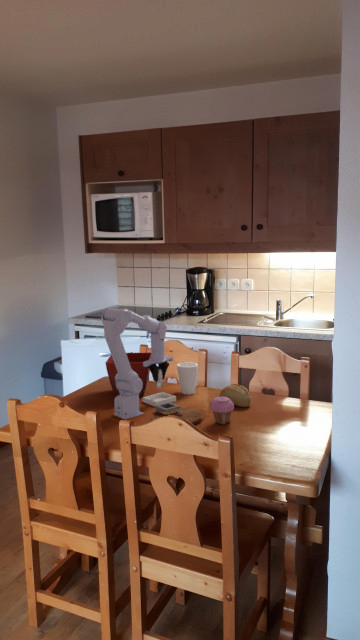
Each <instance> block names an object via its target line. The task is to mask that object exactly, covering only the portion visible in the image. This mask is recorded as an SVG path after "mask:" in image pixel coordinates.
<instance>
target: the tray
mask: <svg viewBox="0 0 360 640" xmlns="http://www.w3.org/2000/svg"><path fill="white" fill-rule="evenodd" d="M142 402H143V403H145V404H147V405H150V406H152V407H155V406H157V405H160V404H164V403H167V402H170V403H174V402H177V396H176V395H173V394H169V393H167V392H164V391H163V392H158V393H154V394H151V395H148V396H142Z"/></svg>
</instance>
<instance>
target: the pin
mask: <svg viewBox="0 0 360 640" xmlns="http://www.w3.org/2000/svg"><path fill="white" fill-rule="evenodd" d="M163 382H164V380H163V373H162V368H159V370H158V381H155V388H157V389H162V388H164V383H163Z"/></svg>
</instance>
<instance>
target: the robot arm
mask: <svg viewBox="0 0 360 640" xmlns="http://www.w3.org/2000/svg"><path fill="white" fill-rule="evenodd" d="M157 319H158V318H154V317H151V315H149V314H145V315H139V314H137V313H136V312H135V311H134V312H133V311H132V310H131V309H130V310H129V309H127V308H112V307H106V308H105V309H104V310H103V312H102V315H101V317H100V321H101V322H102V325H103V333H104V339H105V341H106V344H107V347H108V349H109V353H110V355H112V358H113V361H114V363H115V366H116V369H117V372H118V373H117V374H116V376H115V380H116V388H117V389H118V390H119V393H121V394H120V395H118V396H115V398H114V400H113V401H114V402H113V403H114V413H113V415H114V416H116V417H118V418H120V419H123V420H128V419H130V418H134V417H138V416H140V415H144V412H142V411H140V397H139V393H140V391H141V390H142V386H143V383H142V380H141V379H140V378H139V376H138V374H137V373H136V372H134V371H133V370H132V369H131V366H130V363H129V360H128V357H127V355H126V353H127V351H126V350H125V346H124V342H123V341H122V338H121V335H122V334H123V333H124V331H125V330H126V328H127V327H128V325H129V323H133V324H137V325H138V327H139V328H140V329H141V330H144V331H146V332H147V333H148V334H149V335H150V348H151V349H150V353H151V359H150V360H147V361H144V362H143V366H145V367H148V368H149V369H150V373H151V375H152V379H153V382H156V381H158V370H159V368H162V373H163V381H164V380H165V378H166V374H167V371H168V368H169V367H170V362H173V361H174V356H172V355H168V356H167V355H166V353H165V352H166V349H165V348H166V347H165V339H166V335H167V331H168V326H167V323H165V322H164V321H162V320H161V321H160V320H157Z"/></svg>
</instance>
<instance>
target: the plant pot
mask: <svg viewBox="0 0 360 640" xmlns="http://www.w3.org/2000/svg"><path fill="white" fill-rule="evenodd" d="M126 355H127V357H128V360H129V363H130V366H131V369H132V370H133V371H134V372H136V373H137V374H138V376H139V378H140V379H141V380H142V383H143V386H142V390H141V391H140V393H139V398H140V397H141V398H143V397H145V393H146V389H147V386H148V382H149V379H150V373H151V371H150V369H149V368H148V367H145V366H143V362H144V361H147V360H150V359H151V352H126ZM105 366H106V367H105V368H106V373H107V376H108V380H109V383H110V386H111V389H112V391H113V394H114V396H115V397H116V396H118V395H120V394H121V393H119V390H118V389H117V388H116V380H115V376H116V374H117V373H118V372H117V369H116V366H115V363H114V361H113V358H112V355H111V354H110V356H109V357H108V359H107V360H106V362H105Z"/></svg>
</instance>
